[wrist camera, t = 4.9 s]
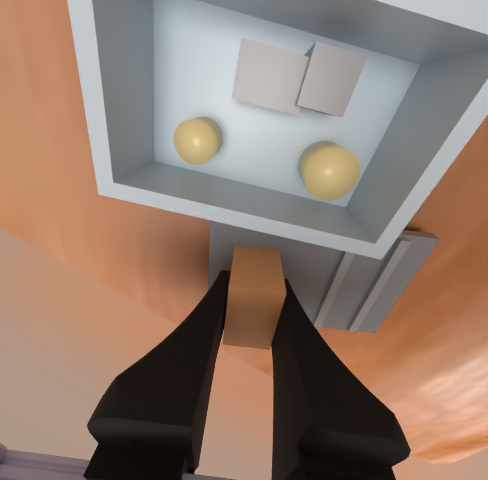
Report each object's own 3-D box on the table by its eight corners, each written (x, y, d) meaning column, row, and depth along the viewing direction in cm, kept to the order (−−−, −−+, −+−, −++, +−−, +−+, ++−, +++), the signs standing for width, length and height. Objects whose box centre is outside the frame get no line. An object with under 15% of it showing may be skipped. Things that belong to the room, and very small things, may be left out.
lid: (431, 233, 11) (502, 282, 8) (370, 325, 15) (402, 383, 12) (212, 206, 11) (194, 245, 8) (208, 306, 15) (195, 360, 12)
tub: (435, 51, 8) (561, 13, 5) (347, 215, 12) (381, 259, 8) (142, -35, 7) (43, -152, 4) (147, 167, 11) (98, 194, 8)
